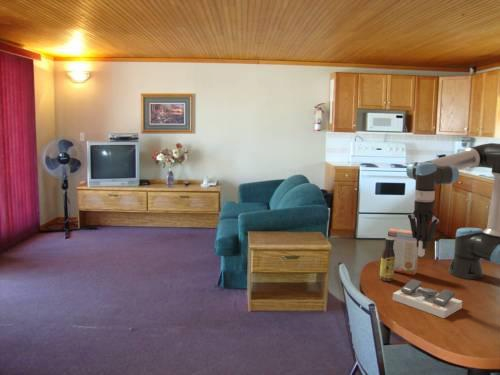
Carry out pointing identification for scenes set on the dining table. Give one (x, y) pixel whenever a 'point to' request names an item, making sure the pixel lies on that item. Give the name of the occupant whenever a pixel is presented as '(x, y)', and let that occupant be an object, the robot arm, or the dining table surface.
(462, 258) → the robot arm
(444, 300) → the switch
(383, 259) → the sauce bottle
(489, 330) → the dining table surface
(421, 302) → the switch panel
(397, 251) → the cracker box
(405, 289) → the switch
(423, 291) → the switch middle
